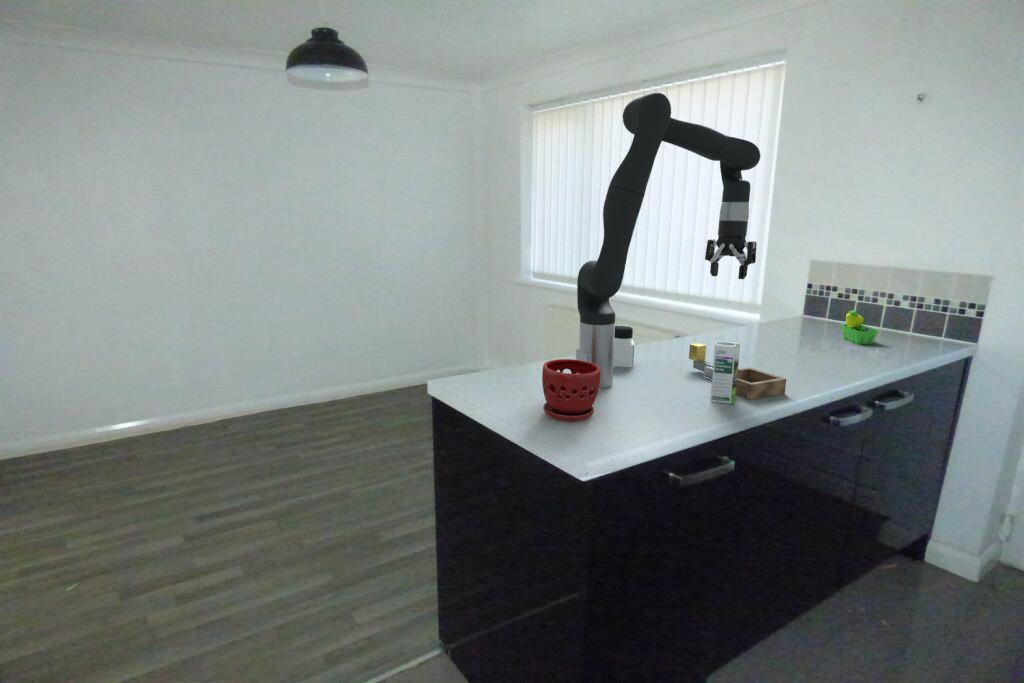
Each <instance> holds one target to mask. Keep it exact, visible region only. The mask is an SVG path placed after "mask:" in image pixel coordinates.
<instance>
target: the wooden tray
mask: <svg viewBox="0 0 1024 683" xmlns="http://www.w3.org/2000/svg"><path fill="white" fill-rule="evenodd" d="M786 386H787V378H784V377H781V376H778V375H775V374H773V373H772V374H771V373H769V372H765V371H762V370H759V369H756V368H753V367H743V368H738V375H737V386H736V396H738V397H741V398H743V397H744V399H746V400H748V399H749V400H748V401H753V400H759V399H763V398H771V397H774V396H776V397H777V396H781V395H785V394H786Z"/></svg>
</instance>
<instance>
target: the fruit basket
mask: <svg viewBox="0 0 1024 683" xmlns="http://www.w3.org/2000/svg"><path fill="white" fill-rule="evenodd" d="M863 322H864V317H863V316H861V315H860V314H858V312H857V311H856V310H849V311H848V313H846V315H845V323H843V324H842V323H841V324H840V326H841V329H842V338H843V339H845V340H847V341H850V342H852V343H855V344H857V345H861V344H862V345H872V344H873V343H874V341H875V339H876V337H877V334H878V333H879V330H877V329H875V328H872V327H870V326H868V325H863Z"/></svg>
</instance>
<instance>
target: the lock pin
mask: <svg viewBox="0 0 1024 683" xmlns="http://www.w3.org/2000/svg"><path fill="white" fill-rule="evenodd" d="M688 351H689V352H688V353H689V354H688V359H689V360H692V361H693V364H692V365H693V366H692V368H693V369H695V370H699V371H701V372H704V369H705V366H709V367H712V368H713V363H714V362H712V361H711V362H710V361H707V360H706V351H707V345H706V344H704V343H703V344H702V343H699V342H697V343H689V350H688Z"/></svg>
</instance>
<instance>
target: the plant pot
mask: <svg viewBox="0 0 1024 683" xmlns="http://www.w3.org/2000/svg"><path fill="white" fill-rule="evenodd" d="M565 370H569V371H570V373H568V372H567V373H566V372H564V371H565ZM576 373H579V374H576ZM541 375H542V376H541V381H542V384H541V385H542V391H543V396H544V399H545V401H546V402H545V403H544V404H543V411H544V413H545V414H546V415H547V416H548V417H550V418H551V419H553V420H556V421H560V422H561V421H562V422H569V423H571V422H582V421H584V420H587V419H589V418H591V417H592V415H593V414H594V412H595V408H594V407H593V405H594V403H595V401H596V399H597V397H598V393H599V390H600V389H599V385H600V376H601V369H600V367H599V366H597V365H595V364H593V363H590V362H586V361H581V360H576V359H573V358H571V359H570V358H566V359H565V358H560V359H553V360H552V359H551V360H548V361H545V362H544V363H543V365H542V374H541ZM592 387H594V388H592Z"/></svg>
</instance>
